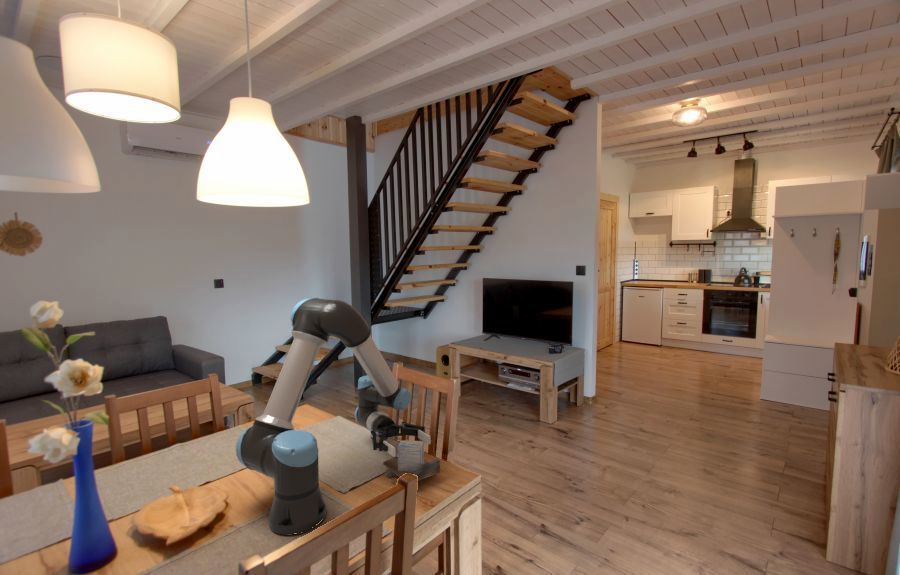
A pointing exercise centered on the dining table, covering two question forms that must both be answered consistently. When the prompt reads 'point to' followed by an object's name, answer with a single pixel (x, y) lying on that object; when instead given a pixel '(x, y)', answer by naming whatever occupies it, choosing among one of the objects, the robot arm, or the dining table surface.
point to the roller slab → (420, 471)
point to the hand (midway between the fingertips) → (412, 446)
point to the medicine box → (410, 455)
